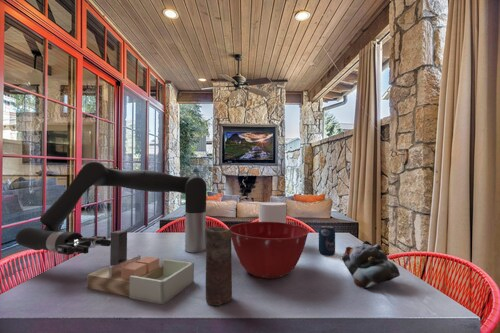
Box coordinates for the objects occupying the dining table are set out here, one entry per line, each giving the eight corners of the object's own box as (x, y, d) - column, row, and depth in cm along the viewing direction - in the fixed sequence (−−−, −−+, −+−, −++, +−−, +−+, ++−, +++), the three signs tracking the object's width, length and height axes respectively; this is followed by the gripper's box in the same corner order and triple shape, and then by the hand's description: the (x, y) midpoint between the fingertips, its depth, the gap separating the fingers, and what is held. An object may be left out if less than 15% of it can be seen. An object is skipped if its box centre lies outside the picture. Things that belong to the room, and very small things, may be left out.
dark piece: (98, 274, 80) (99, 235, 80) (128, 262, 91) (128, 227, 91) (111, 277, 78) (112, 237, 78) (140, 263, 90) (140, 228, 90)
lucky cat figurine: (356, 291, 78) (339, 244, 84) (351, 290, 89) (336, 249, 95) (407, 278, 77) (385, 232, 83) (395, 279, 87) (377, 238, 94)
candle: (206, 293, 76) (207, 225, 77) (231, 292, 77) (232, 224, 77) (204, 307, 69) (204, 231, 69) (232, 306, 69) (232, 230, 70)
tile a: (135, 270, 83) (135, 261, 83) (146, 265, 88) (146, 256, 88) (148, 272, 82) (148, 263, 82) (159, 267, 86) (159, 258, 86)
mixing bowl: (265, 253, 114) (265, 218, 114) (324, 271, 93) (324, 228, 94) (212, 270, 94) (213, 227, 94) (273, 298, 74) (273, 243, 74)
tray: (129, 297, 74) (129, 276, 74) (164, 276, 88) (164, 259, 89) (162, 304, 70) (163, 282, 70) (193, 281, 85) (193, 262, 85)
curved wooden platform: (87, 287, 80) (87, 274, 80) (123, 271, 93) (123, 260, 93) (131, 296, 74) (131, 282, 74) (163, 277, 88) (163, 265, 88)
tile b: (120, 277, 78) (120, 267, 78) (133, 271, 82) (133, 262, 82) (134, 280, 76) (134, 269, 76) (146, 273, 81) (146, 264, 81)
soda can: (329, 257, 108) (329, 228, 109) (315, 253, 114) (315, 226, 114) (338, 254, 113) (338, 226, 113) (324, 250, 118) (324, 224, 118)
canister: (268, 239, 138) (268, 201, 139) (291, 243, 131) (291, 203, 131) (253, 244, 128) (253, 203, 128) (277, 249, 120) (277, 205, 120)
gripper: (43, 236, 87) (79, 240, 81) (83, 227, 100) (116, 230, 95) (43, 259, 86) (79, 264, 81) (83, 247, 100) (116, 251, 95)
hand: (99, 246), depth 88 cm, fingers open, 8 cm apart
